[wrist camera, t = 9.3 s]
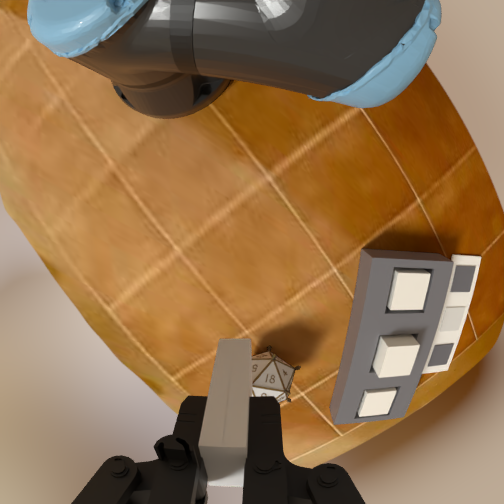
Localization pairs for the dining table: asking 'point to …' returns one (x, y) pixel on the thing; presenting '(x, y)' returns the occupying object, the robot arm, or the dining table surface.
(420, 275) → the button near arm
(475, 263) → the pattern card
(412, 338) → the middle button
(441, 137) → the dining table surface
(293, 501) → the robot arm
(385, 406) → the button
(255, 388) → the game die
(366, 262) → the button board
